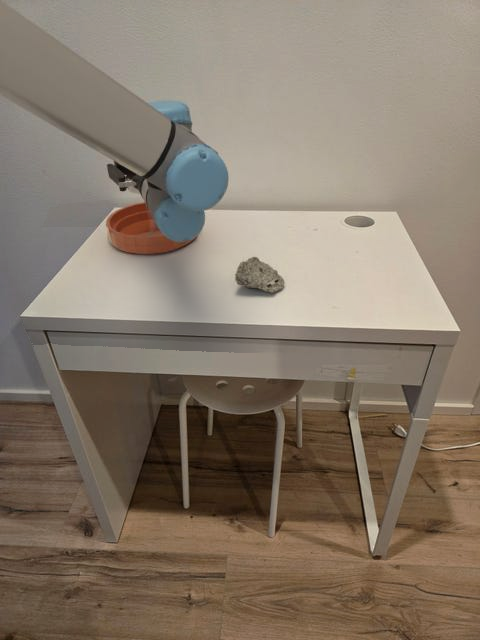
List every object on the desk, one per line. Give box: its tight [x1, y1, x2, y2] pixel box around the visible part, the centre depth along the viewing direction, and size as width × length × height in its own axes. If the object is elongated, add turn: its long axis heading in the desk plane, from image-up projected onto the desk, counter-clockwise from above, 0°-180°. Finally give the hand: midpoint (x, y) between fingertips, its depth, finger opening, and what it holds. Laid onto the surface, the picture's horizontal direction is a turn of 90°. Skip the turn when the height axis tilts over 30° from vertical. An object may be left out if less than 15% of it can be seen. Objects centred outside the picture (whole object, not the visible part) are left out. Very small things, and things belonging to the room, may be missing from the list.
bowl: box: [105, 201, 195, 255], centre depth 102 cm, size 21×21×4 cm
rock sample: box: [234, 256, 285, 293], centre depth 83 cm, size 10×8×9 cm
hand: (139, 156), depth 95 cm, fingers closed on mug, 8 cm apart
